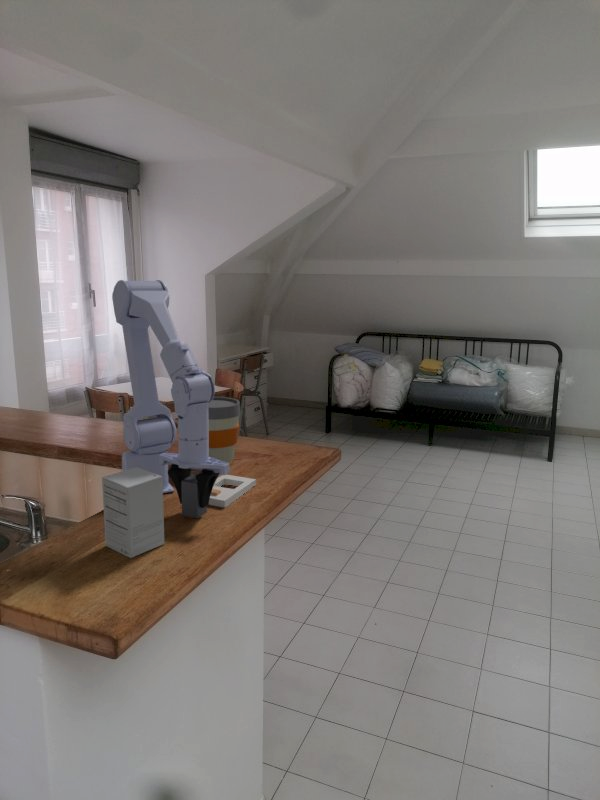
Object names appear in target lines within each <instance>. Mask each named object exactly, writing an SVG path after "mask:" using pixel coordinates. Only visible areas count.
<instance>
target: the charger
mask: <svg viewBox="0 0 600 800" xmlns="http://www.w3.org/2000/svg"><path fill="white" fill-rule="evenodd" d="M197 474H198V470H196V471H195V470H191V474H190V476H189V477H188V478H186V479H184V480H182V481H181V492H182V504H181V516H183V517H184V516H185V517H189V518H193V519H199V518H200V517H202V516H203V515H204V514H206V513H208V505H207V506H206V507H204V508H200V504H199V488H198V483H197V480H196V475H197Z"/></svg>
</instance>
